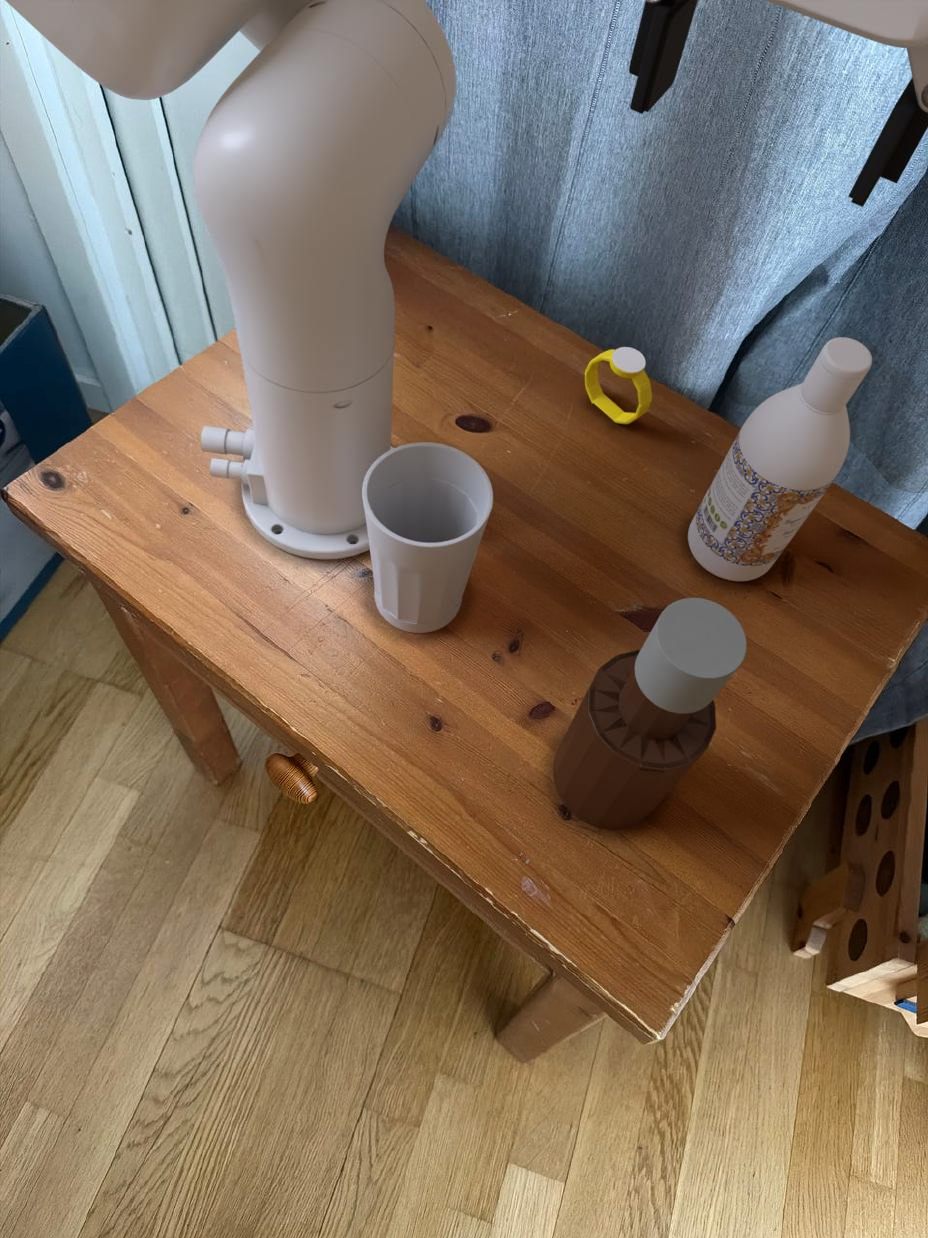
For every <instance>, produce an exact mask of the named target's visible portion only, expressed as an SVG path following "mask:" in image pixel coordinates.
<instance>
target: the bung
mask: <svg viewBox="0 0 928 1238" xmlns="http://www.w3.org/2000/svg"><path fill="white" fill-rule="evenodd" d="M747 644H748V642H747V637H746V633H745V631H744V628H743V626H742V624H741V623H740V621H739V620H738V618H737V617H736V616H735V615H734V614H733V613H732V612H731V611H729V610H728V609H727V608H726V607H724V606H723V605H721V604H719V603H717V602H715V601H713V600H709V599H706V598H701V597H686V598H681V599H678V600H676V601H673V602H672V603H670V604H669V605H668V606H666V608H664V609H663V611H662V612H661V613H660V615H659V616H658V618H657V620H656V621H655V624H654V625H653V627H652V629H651V631H650V633H649V634H648V636H647V638H646V639H645V641H644V643H643V645H642V647H641V648H640V649H639V650H640V652H639V654H638V656H637V658H636V662H635V676H636V680H637V683H638V685H639V687H640V689H641V691H642V692H643V693H644V695H645V696H646V697H647V698H648V699H649V700H650V701H651V702H652V703H654V704H655V705H657V706H658V707H660V708H662V709H664V710H667V711H670V712H674V713H682V714H684V713H693V712H696V711H699V710H701V709H703V708H705V707H706V706H707V705H708V704H709V703H710V702H711V701H712V700H713V701H714V699H715V698H716V697H717V695H719V693H720V692H721V690H722V689H723V688H724V686H725V685H726V684H727V682H729V681H730V679H731V678H732V676H733V675H734V674H735V673H736V671H737V670H738V669H739V668H740V667H741V665H742V663H743V662H744V660H745V658H746V654H747V649H748V648H747V647H748V645H747Z"/></svg>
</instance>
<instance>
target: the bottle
mask: <svg viewBox="0 0 928 1238" xmlns="http://www.w3.org/2000/svg"><path fill="white" fill-rule="evenodd" d="M640 650H641V649H635V650H631V651H626V652H622V653H618V654H615V655H614V656H613V657H612V658H610V659H609V660H608V661H606V662H605V663H604V664H602V665H601V666H599V668H598V669H597V671H596V673H595V675H594V676H593V678H592V680H591V682H590V684H589V686H588V688H587V690H586V691H585V694H584V696H583V698H582V700H581V703H580V705H579V706H578V708H577V710H576V712H575V714H574V716H573V719H572V720H571V723H570V725H569V727H568V729H567V730H566V732H565V734H564V736H563V739H562V740H561V743H560V745H559V747H558V749H557V751H556V753H555V754H554V759H553V765H552V776H553V783H554V786H555V790H556V792H557V794H558V797H559V798H560V800H561V801H562V803H563V804H564V806H565V807H566V808H567V809H568V810H569V812H570V813H572V814H573V815H574V816H575V817H577V818H578V819H579V820H581V821H582V822H585V823H586V824H589V825H591V826H593V827H597V828H601V829H607V830H618V829H619V830H621V829H624V828H628V827H632V826H635V825H636V824H638V823H640V822H641V821H643V820H644V819H645V818H646V817H648V816H649V814H650V813H651V812H652V811H654V810H655V809H656V808H657V807H658V805H660V803H661V802H662V801H663V800H664V799H665V798H666V797H667V796H668V794H669V793H670V792H671V791H672V790H673V788H674V787H676V785H677V784H678V783H679V782H680V780H681V779H682V778H683V777H684V776H685V775H686V774H687V773H688V772H689V770H691V768H692V767H693V766H694V765H695V764H696V762H698V760H699V759H700V758H702V756H703V755H704V754H705V752H706V751H707V750H708V749H709V747H710V745H711V742H712V739H713V737H714V735H715V732H716V730H717V714H716V712H717V711H716V702H715V701H714V699H713V700H712V701H711V702H710V703H709V704H708V705H707V706H706V707H705V708H703V709H701V710H699V711H696V712H693V713H684V714H682V713H674V712H670V711H667V710H664V709H662V708H660V707H658V706H657V705H655V704H654V703H652V702H651V701H650V700H649V699H648V698H647V697H646V696H645V695H644V693H643V692H642V691H641V689H640V687H639V685H638V683H637V680H636V676H635V662H636V658H637V656H638V654H639V652H640Z"/></svg>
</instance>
